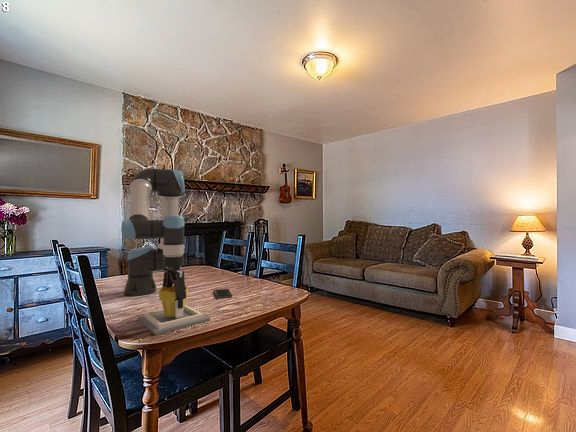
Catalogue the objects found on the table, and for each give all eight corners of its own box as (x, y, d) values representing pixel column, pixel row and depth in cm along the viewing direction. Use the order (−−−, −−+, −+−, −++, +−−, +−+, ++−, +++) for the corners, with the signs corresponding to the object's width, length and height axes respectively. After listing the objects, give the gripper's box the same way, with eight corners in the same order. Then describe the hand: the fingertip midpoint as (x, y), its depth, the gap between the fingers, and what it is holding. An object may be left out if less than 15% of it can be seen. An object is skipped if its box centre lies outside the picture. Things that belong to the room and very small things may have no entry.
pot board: (137, 319, 113) (137, 312, 113) (187, 308, 127) (187, 302, 127) (155, 335, 99) (155, 327, 99) (209, 320, 112) (209, 314, 112)
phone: (216, 297, 141) (213, 289, 156) (216, 299, 141) (213, 291, 156) (232, 296, 144) (228, 288, 158) (232, 298, 144) (228, 290, 158)
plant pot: (164, 320, 105) (164, 293, 105) (155, 313, 113) (155, 288, 113) (192, 314, 112) (192, 288, 112) (181, 307, 120) (181, 284, 120)
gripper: (196, 257, 107) (196, 318, 107) (172, 251, 124) (172, 304, 124) (175, 259, 102) (175, 323, 102) (153, 253, 118) (153, 308, 119)
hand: (173, 313), depth 113 cm, fingers closed on plant pot, 10 cm apart
